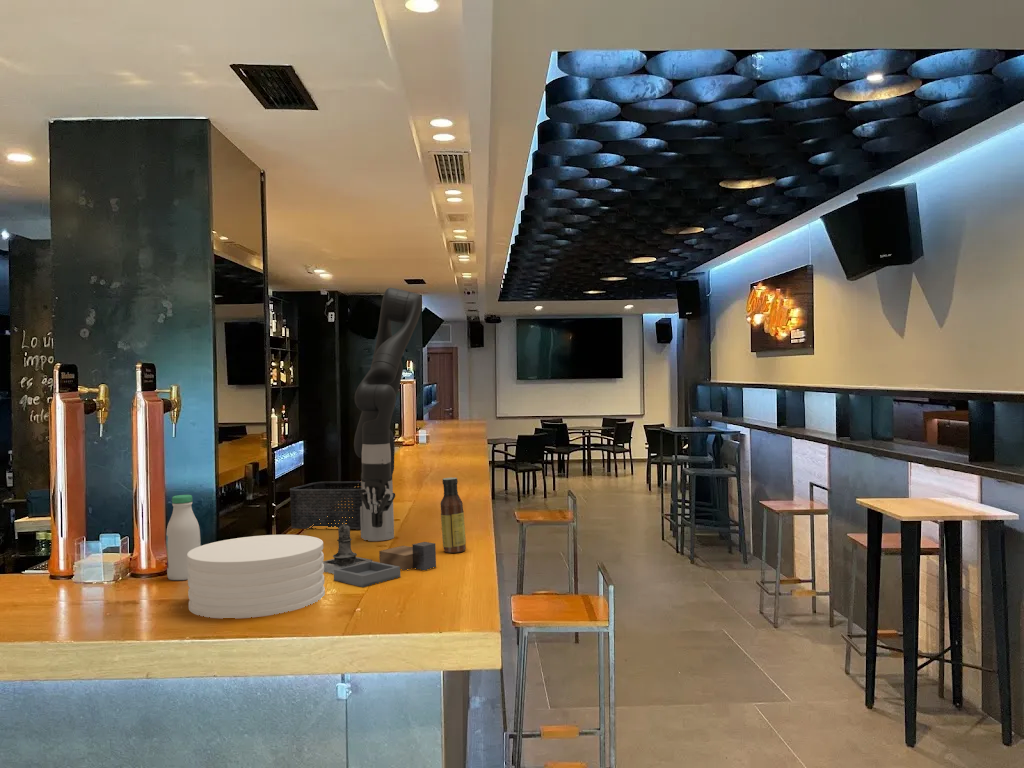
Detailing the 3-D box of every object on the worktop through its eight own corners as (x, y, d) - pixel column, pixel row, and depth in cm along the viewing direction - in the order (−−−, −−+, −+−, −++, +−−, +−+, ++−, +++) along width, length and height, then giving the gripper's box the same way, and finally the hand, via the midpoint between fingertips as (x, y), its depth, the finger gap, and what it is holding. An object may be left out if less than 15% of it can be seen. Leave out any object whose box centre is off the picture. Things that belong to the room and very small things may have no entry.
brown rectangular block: (379, 566, 199) (379, 551, 199) (403, 560, 205) (403, 545, 205) (405, 572, 192) (405, 555, 192) (429, 565, 198) (429, 549, 198)
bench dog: (413, 568, 194) (412, 544, 194) (425, 565, 197) (424, 541, 197) (424, 570, 191) (423, 546, 191) (436, 567, 194) (435, 543, 194)
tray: (333, 580, 185) (333, 569, 185) (371, 570, 193) (370, 560, 193) (363, 587, 178) (362, 576, 178) (400, 577, 186) (400, 566, 186)
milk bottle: (208, 574, 194) (205, 493, 194) (183, 582, 187) (180, 498, 187) (185, 572, 198) (183, 493, 198) (160, 579, 191) (157, 497, 191)
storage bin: (286, 529, 256) (285, 488, 256) (318, 518, 274) (316, 480, 274) (365, 531, 247) (364, 489, 247) (392, 520, 266) (391, 481, 266)
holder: (318, 570, 195) (317, 562, 195) (349, 563, 203) (348, 555, 203) (341, 575, 189) (341, 567, 189) (372, 567, 196) (372, 560, 196)
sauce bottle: (467, 548, 216) (465, 476, 216) (464, 553, 210) (461, 479, 210) (444, 548, 217) (442, 476, 217) (439, 553, 210) (437, 479, 210)
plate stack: (350, 596, 171) (348, 543, 171) (228, 628, 151) (226, 568, 151) (282, 577, 190) (280, 530, 190) (165, 603, 170) (164, 550, 170)
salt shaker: (361, 567, 198) (360, 519, 198) (349, 572, 192) (348, 523, 192) (341, 566, 200) (339, 518, 200) (328, 571, 194) (327, 523, 194)
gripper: (349, 460, 207) (350, 526, 207) (380, 464, 198) (381, 532, 198) (372, 457, 212) (373, 521, 213) (403, 461, 203) (404, 528, 204)
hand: (377, 526), depth 205 cm, fingers closed
